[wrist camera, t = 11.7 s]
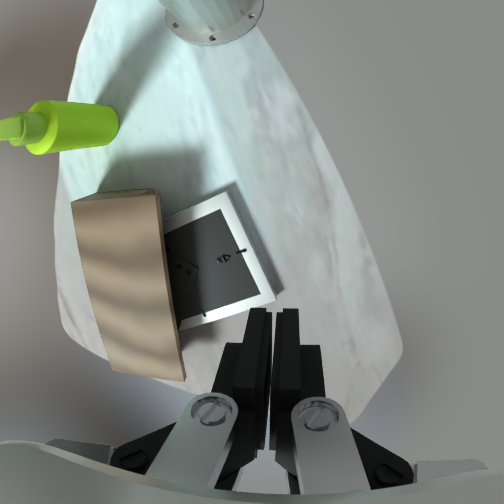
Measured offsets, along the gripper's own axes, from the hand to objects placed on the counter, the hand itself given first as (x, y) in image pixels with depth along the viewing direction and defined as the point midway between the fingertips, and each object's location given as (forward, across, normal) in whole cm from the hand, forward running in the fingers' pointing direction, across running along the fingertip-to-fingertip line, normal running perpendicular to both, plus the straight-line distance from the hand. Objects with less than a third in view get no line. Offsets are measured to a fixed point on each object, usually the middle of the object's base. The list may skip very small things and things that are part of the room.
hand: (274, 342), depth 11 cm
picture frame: (+30, +14, +10) cm, 34 cm away
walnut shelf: (+29, +20, +12) cm, 37 cm away
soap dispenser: (+29, +24, -11) cm, 39 cm away
